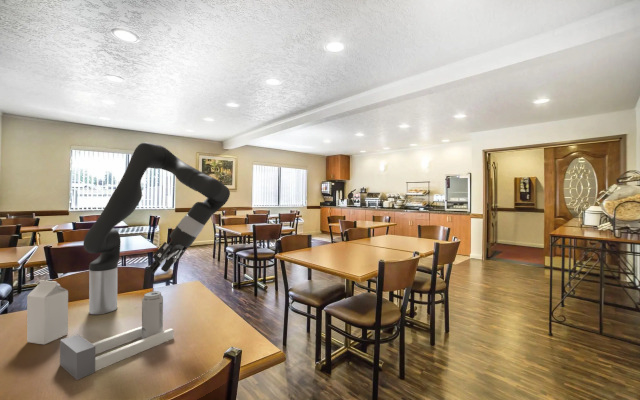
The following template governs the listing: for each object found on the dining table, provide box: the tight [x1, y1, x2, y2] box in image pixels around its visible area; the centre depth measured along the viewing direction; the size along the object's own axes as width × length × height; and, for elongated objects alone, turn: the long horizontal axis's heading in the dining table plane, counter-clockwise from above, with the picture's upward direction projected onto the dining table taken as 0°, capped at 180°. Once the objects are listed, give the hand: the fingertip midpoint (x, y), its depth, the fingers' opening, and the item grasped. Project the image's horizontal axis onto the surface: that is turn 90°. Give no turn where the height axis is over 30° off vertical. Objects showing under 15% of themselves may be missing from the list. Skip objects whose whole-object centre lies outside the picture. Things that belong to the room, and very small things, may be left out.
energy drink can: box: [141, 290, 164, 340], centre depth 96 cm, size 6×6×15 cm
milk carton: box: [26, 279, 69, 345], centre depth 95 cm, size 7×7×19 cm
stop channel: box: [59, 325, 175, 381], centre depth 88 cm, size 12×26×7 cm, turn 147°
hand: (157, 271), depth 96 cm, fingers open, 8 cm apart
